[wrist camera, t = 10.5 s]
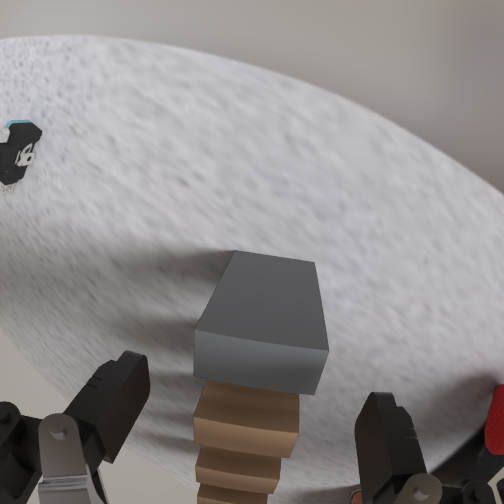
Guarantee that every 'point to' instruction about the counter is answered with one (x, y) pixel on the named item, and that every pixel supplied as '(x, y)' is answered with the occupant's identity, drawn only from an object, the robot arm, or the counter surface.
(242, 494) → the walnut tile
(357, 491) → the lighter
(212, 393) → the walnut tile
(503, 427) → the strawberry
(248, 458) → the walnut tile
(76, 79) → the counter surface
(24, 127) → the push button
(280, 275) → the charcoal tile
